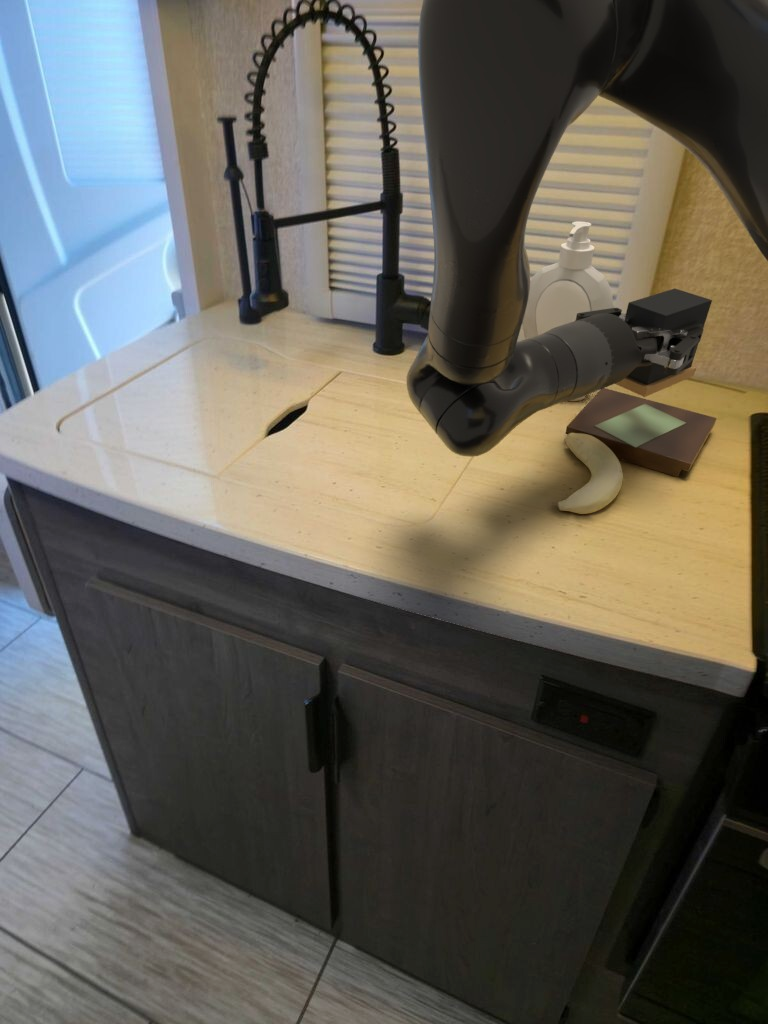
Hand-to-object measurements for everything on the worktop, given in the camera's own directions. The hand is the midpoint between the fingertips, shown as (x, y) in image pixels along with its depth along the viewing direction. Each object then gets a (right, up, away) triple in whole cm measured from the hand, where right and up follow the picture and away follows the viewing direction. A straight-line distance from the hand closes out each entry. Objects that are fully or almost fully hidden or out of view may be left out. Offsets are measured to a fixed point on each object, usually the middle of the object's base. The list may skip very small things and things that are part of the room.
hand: (676, 324), depth 76 cm
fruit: (-9, -18, +6) cm, 21 cm away
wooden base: (+1, -12, +14) cm, 18 cm away
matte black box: (-2, -6, +2) cm, 7 cm away
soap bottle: (-9, -4, +24) cm, 26 cm away
